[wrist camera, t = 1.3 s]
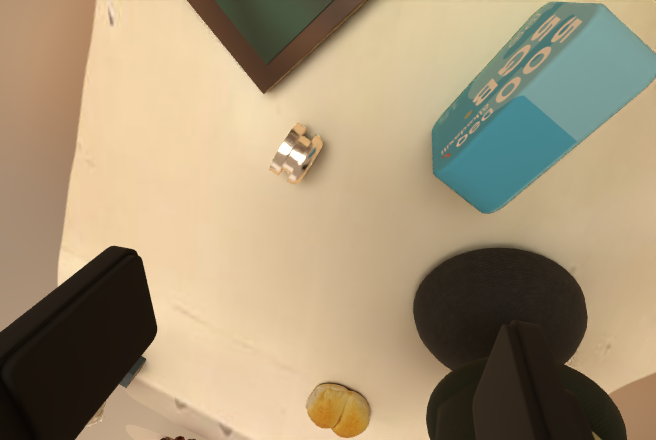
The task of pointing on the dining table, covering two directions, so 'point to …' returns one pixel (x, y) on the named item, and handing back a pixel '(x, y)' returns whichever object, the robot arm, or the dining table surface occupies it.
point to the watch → (124, 382)
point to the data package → (538, 101)
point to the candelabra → (484, 325)
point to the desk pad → (273, 31)
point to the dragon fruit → (177, 439)
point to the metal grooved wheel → (296, 154)
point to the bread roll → (338, 410)
